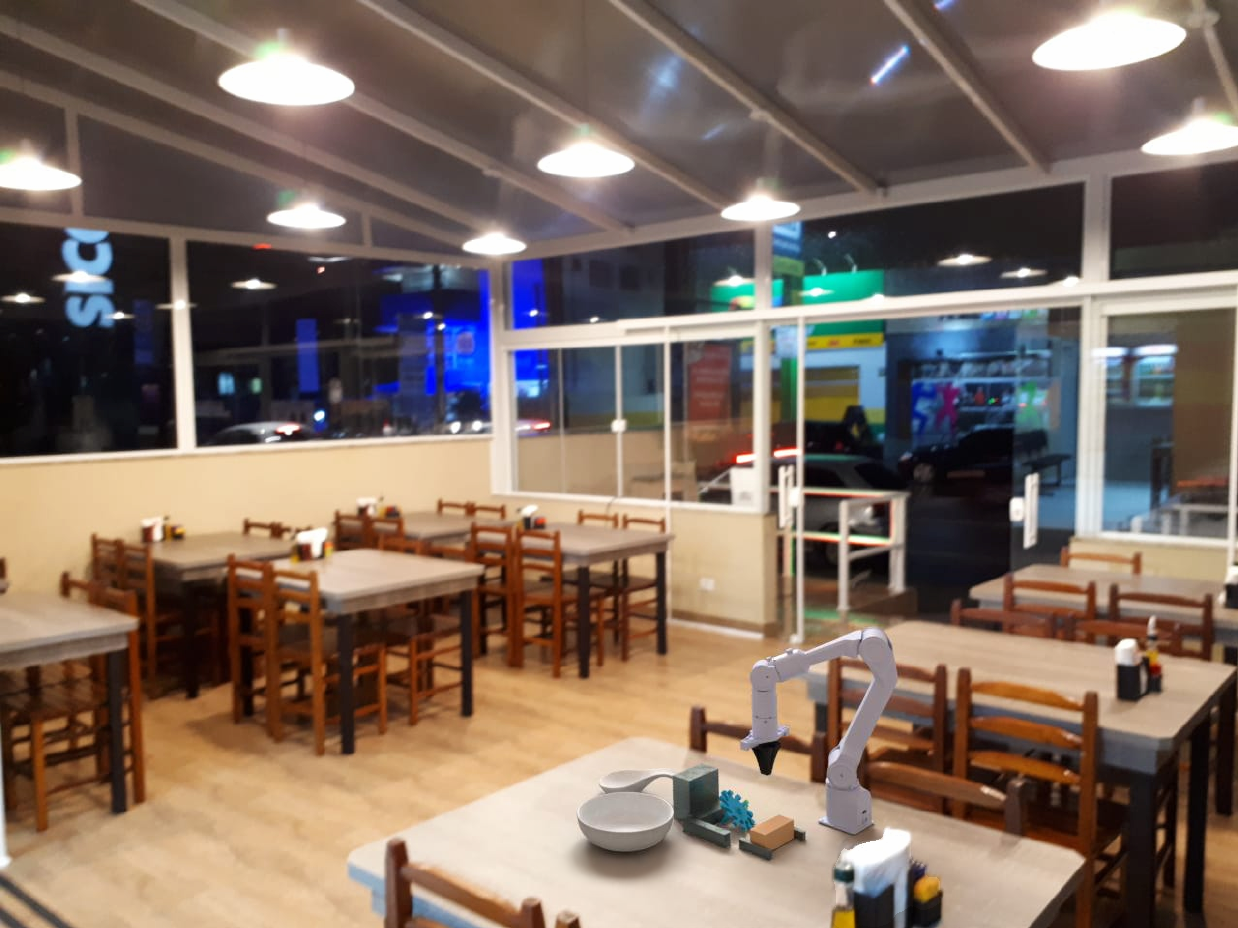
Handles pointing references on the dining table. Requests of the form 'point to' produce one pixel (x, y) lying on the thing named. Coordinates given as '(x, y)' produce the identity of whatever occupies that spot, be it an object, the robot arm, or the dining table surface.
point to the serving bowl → (625, 820)
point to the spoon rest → (632, 779)
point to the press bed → (709, 810)
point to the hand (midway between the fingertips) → (765, 773)
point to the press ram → (773, 832)
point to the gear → (736, 810)
